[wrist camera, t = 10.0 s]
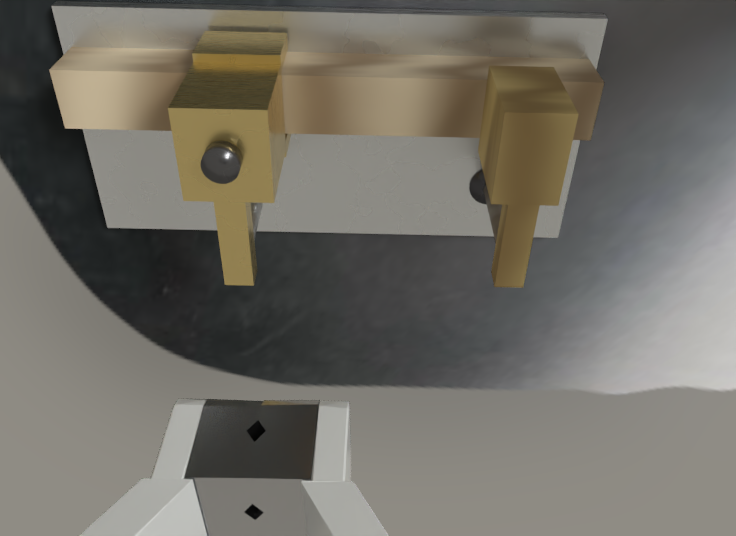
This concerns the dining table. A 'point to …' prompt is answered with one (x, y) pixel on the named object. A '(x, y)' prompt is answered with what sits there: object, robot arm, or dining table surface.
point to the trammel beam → (383, 113)
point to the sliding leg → (232, 137)
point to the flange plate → (322, 151)
